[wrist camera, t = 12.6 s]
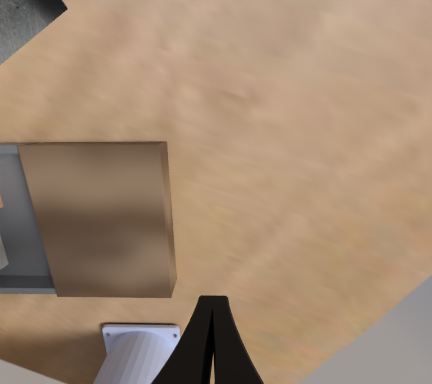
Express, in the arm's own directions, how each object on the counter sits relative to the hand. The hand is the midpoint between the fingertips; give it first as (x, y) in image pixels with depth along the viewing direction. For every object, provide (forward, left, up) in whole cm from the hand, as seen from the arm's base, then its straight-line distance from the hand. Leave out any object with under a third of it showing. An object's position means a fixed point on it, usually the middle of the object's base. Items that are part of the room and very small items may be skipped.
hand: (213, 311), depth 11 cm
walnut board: (+1, +9, -9) cm, 13 cm away
